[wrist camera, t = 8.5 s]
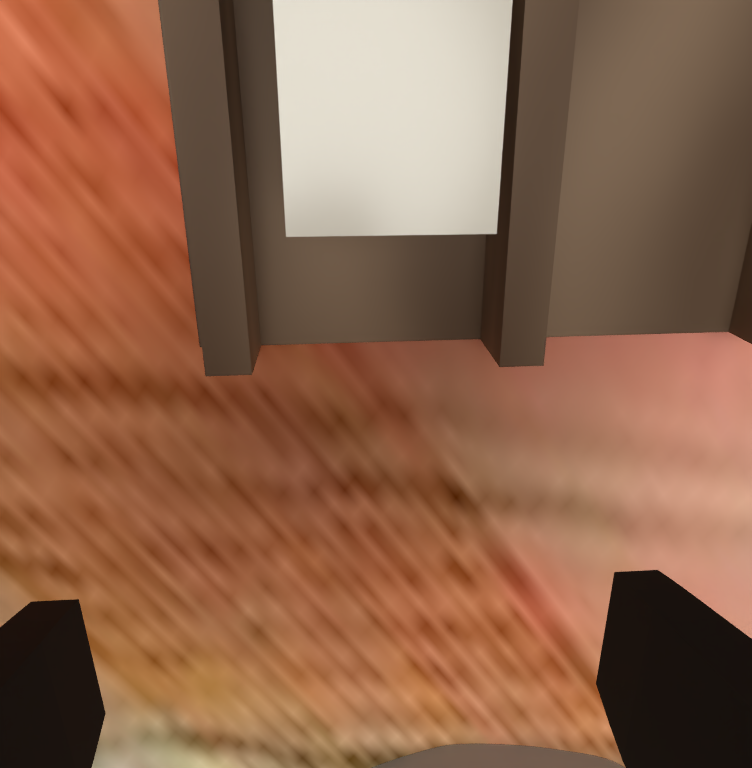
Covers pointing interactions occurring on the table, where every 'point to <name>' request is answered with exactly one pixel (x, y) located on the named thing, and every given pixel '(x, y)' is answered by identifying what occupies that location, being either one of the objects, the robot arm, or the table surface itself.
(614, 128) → the rack
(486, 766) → the lumpy-topped squat cylinder
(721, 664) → the robot arm
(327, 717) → the table surface
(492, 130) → the white rectangular block
